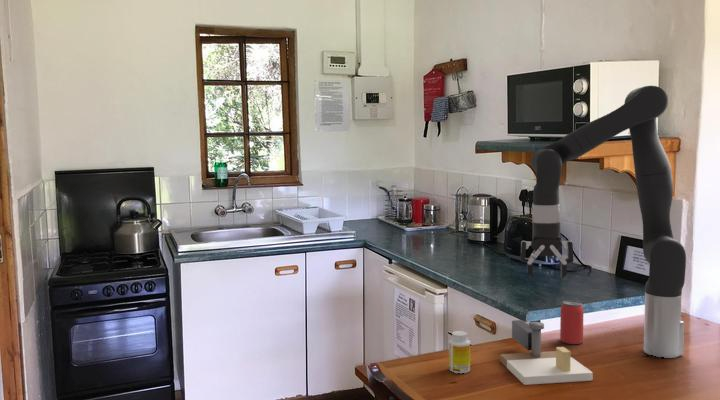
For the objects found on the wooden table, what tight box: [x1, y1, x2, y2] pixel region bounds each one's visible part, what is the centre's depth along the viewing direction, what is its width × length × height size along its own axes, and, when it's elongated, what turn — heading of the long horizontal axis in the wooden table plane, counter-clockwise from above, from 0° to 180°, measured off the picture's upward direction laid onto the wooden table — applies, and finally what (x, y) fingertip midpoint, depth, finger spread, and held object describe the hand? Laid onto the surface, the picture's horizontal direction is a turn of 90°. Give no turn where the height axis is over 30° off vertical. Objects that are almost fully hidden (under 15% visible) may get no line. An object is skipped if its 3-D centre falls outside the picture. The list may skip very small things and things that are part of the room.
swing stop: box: [511, 319, 532, 351], centre depth 175 cm, size 12×3×5 cm, turn 7°
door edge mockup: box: [499, 321, 594, 386], centre depth 162 cm, size 18×17×11 cm
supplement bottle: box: [448, 330, 471, 375], centre depth 162 cm, size 6×6×10 cm
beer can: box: [559, 300, 585, 345], centre depth 185 cm, size 7×7×12 cm
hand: (546, 277), depth 174 cm, fingers open, 8 cm apart
